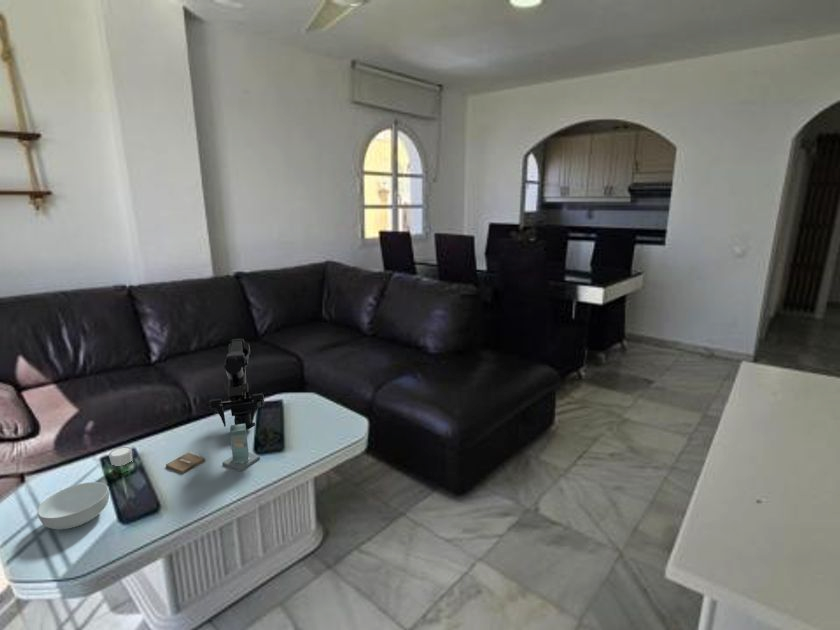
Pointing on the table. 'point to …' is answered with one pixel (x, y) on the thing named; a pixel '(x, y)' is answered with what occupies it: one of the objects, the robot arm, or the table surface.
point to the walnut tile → (185, 462)
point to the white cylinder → (121, 456)
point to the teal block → (239, 443)
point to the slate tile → (241, 465)
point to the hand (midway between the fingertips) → (238, 424)
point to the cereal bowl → (73, 505)
